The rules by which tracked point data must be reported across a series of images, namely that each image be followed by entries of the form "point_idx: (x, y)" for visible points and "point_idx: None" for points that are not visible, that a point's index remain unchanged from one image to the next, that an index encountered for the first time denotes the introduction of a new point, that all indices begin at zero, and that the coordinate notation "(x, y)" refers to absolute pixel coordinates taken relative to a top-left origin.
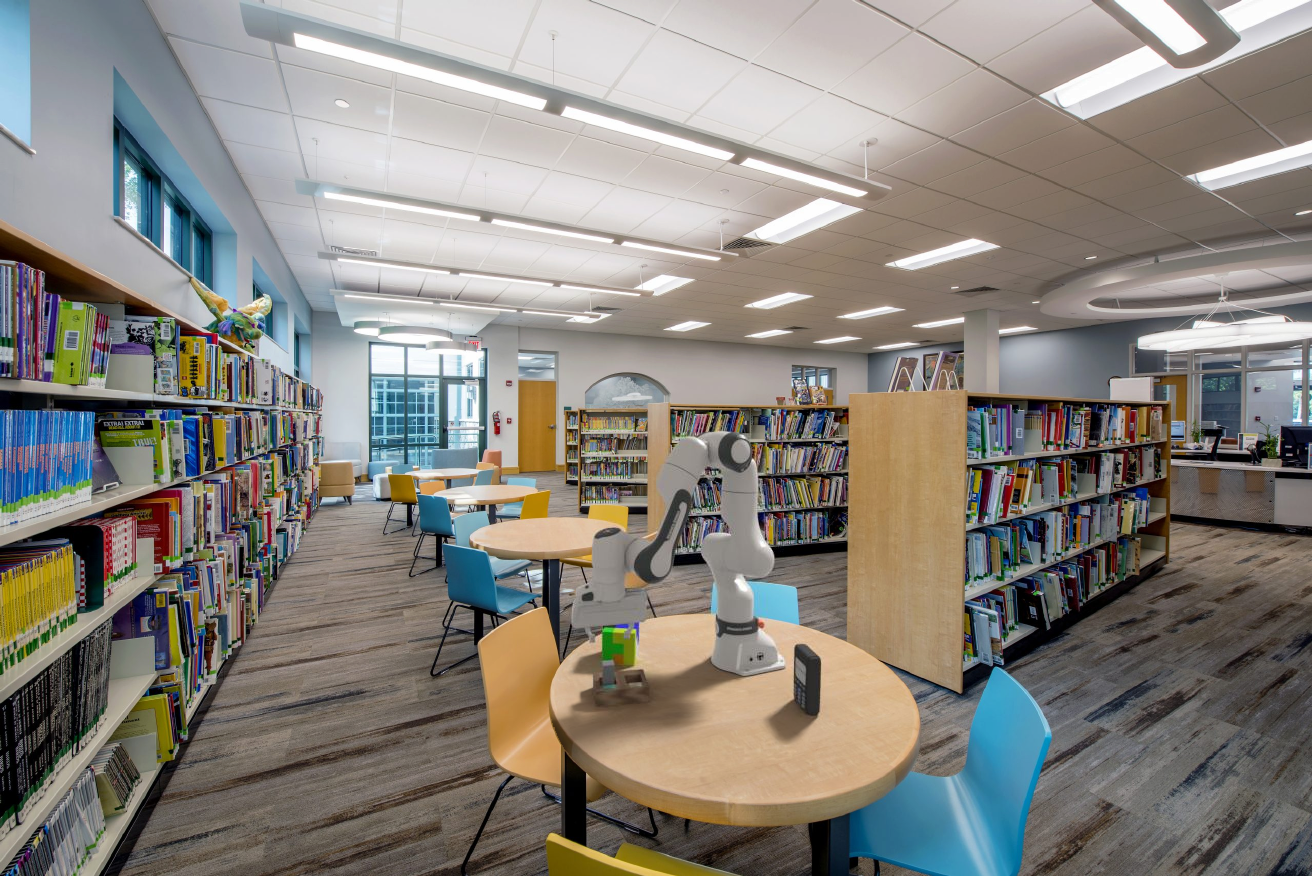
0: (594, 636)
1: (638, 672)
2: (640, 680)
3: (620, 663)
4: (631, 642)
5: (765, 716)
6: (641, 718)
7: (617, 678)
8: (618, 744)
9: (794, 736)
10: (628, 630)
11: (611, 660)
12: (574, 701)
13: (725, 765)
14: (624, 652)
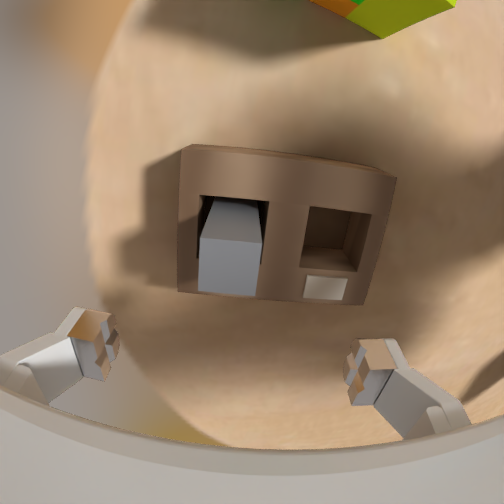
0: (100, 380)
1: (371, 199)
2: (362, 217)
3: (335, 10)
4: (415, 8)
5: (487, 359)
6: (296, 342)
7: (275, 221)
8: (220, 398)
9: (473, 397)
10: (389, 405)
11: (251, 247)
12: (124, 220)
13: (361, 441)
14: (365, 3)
